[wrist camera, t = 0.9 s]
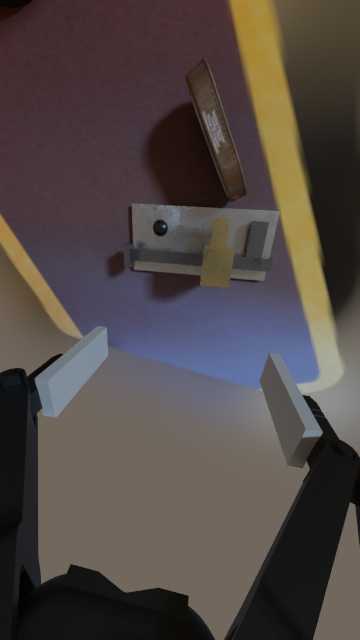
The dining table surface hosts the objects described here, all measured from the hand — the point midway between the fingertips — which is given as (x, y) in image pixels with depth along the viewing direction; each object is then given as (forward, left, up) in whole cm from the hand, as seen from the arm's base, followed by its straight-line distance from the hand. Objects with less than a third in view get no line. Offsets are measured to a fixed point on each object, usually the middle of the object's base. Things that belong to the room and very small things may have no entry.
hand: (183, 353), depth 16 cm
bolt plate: (-7, -1, -25) cm, 26 cm away
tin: (-20, +1, -25) cm, 32 cm away
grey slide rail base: (-7, -1, -24) cm, 25 cm away
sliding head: (-7, +2, -23) cm, 24 cm away
